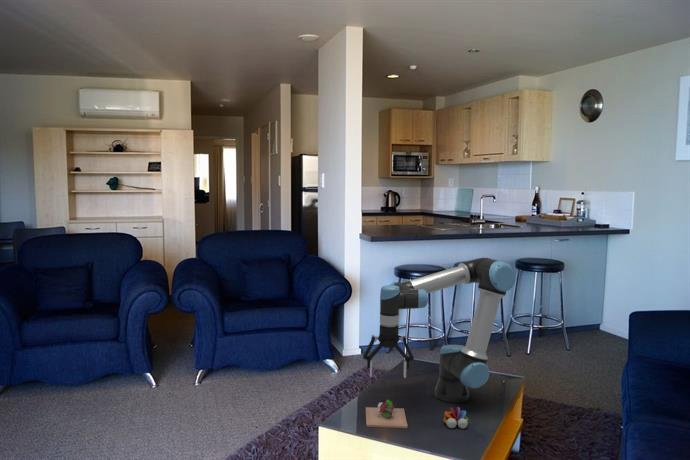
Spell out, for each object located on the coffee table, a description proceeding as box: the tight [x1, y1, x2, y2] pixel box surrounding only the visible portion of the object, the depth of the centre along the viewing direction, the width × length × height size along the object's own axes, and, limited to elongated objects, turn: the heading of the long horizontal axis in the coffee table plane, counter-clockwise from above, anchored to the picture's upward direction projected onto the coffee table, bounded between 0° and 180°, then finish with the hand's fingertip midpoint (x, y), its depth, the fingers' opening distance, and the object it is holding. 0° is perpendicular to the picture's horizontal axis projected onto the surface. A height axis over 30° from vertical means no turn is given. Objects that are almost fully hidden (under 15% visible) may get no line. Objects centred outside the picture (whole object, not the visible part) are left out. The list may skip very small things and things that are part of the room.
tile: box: [365, 406, 409, 429], centre depth 215 cm, size 16×16×1 cm
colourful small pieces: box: [443, 407, 469, 430], centre depth 211 cm, size 8×10×7 cm
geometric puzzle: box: [376, 398, 396, 419], centre depth 215 cm, size 7×7×8 cm
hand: (387, 376), depth 214 cm, fingers open, 13 cm apart
